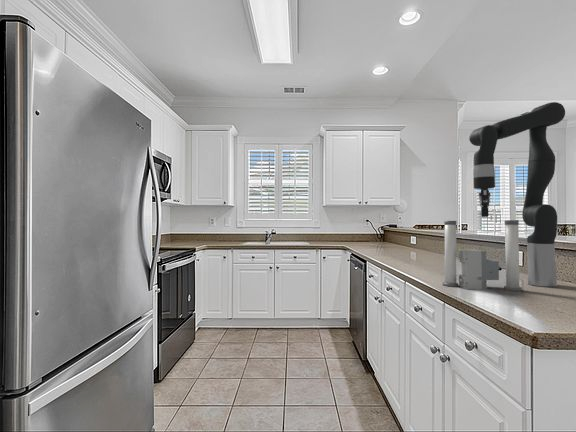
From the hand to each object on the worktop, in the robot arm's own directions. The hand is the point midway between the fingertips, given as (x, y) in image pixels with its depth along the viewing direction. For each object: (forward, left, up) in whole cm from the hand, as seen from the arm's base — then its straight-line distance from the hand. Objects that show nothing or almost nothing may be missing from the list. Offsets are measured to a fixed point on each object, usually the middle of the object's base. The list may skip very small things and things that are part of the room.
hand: (484, 216), depth 140 cm
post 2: (-9, 0, -28) cm, 30 cm away
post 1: (+13, 0, -28) cm, 31 cm away
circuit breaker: (+2, 0, -29) cm, 29 cm away
